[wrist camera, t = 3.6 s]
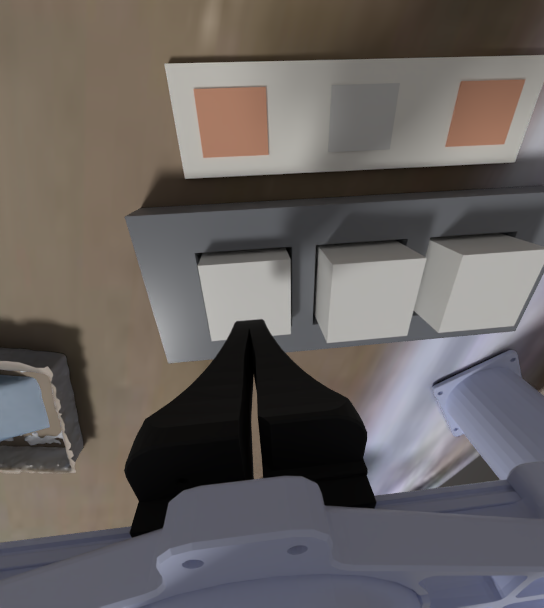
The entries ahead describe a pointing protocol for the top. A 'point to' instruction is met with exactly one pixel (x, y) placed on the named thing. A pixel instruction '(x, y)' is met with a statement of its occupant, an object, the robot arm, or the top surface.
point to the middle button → (366, 289)
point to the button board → (309, 251)
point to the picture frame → (37, 413)
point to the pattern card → (351, 113)
